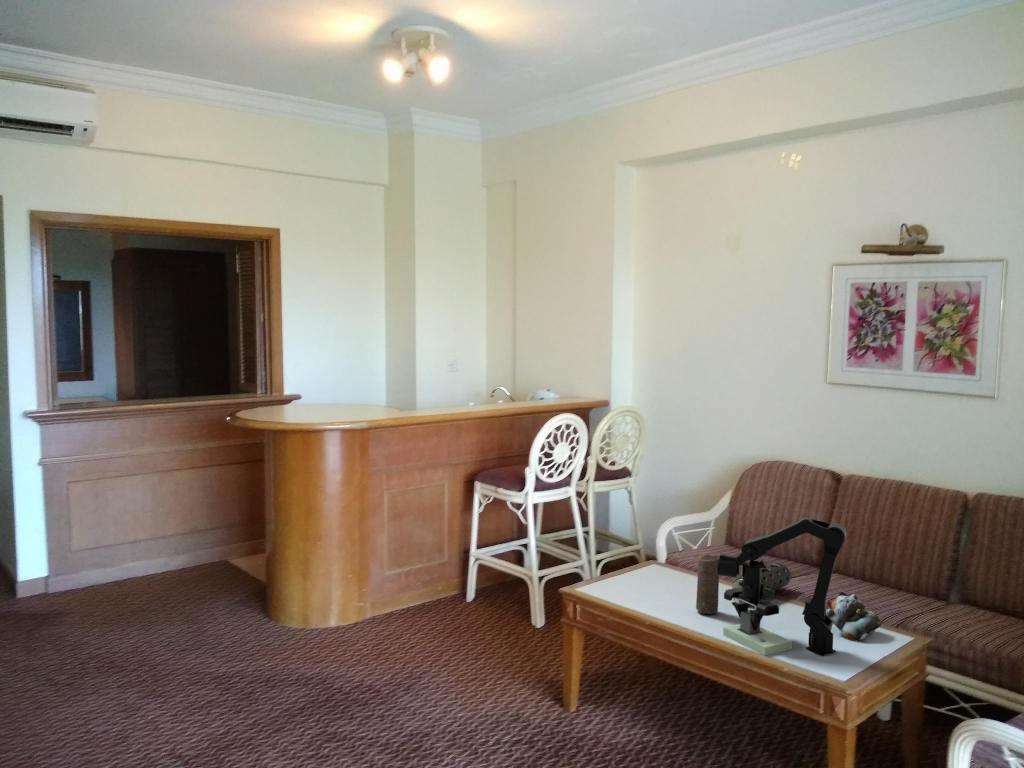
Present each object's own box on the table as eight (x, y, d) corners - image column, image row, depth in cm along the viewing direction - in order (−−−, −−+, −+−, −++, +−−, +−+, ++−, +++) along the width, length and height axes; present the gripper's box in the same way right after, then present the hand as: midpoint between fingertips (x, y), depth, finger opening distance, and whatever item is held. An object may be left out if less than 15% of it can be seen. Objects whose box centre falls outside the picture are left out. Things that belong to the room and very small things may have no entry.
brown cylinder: (720, 616, 273) (722, 559, 271) (699, 616, 273) (700, 558, 271) (714, 609, 280) (716, 552, 279) (693, 608, 280) (695, 552, 279)
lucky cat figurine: (855, 644, 250) (833, 601, 253) (832, 645, 261) (811, 604, 264) (890, 625, 255) (869, 583, 258) (866, 627, 266) (846, 587, 269)
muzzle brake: (791, 592, 300) (792, 564, 299) (754, 609, 280) (755, 580, 279) (767, 586, 307) (768, 559, 306) (729, 603, 287) (730, 574, 286)
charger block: (759, 635, 253) (760, 612, 252) (749, 637, 251) (750, 614, 250) (750, 630, 256) (750, 608, 256) (740, 632, 254) (740, 610, 254)
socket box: (791, 649, 246) (791, 640, 245) (764, 655, 241) (765, 646, 240) (749, 629, 262) (749, 621, 261) (723, 635, 256) (723, 626, 256)
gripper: (792, 584, 248) (791, 633, 249) (749, 568, 264) (747, 614, 265) (766, 589, 243) (764, 640, 244) (723, 572, 259) (722, 620, 260)
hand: (750, 628), depth 253 cm, fingers closed on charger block, 4 cm apart
